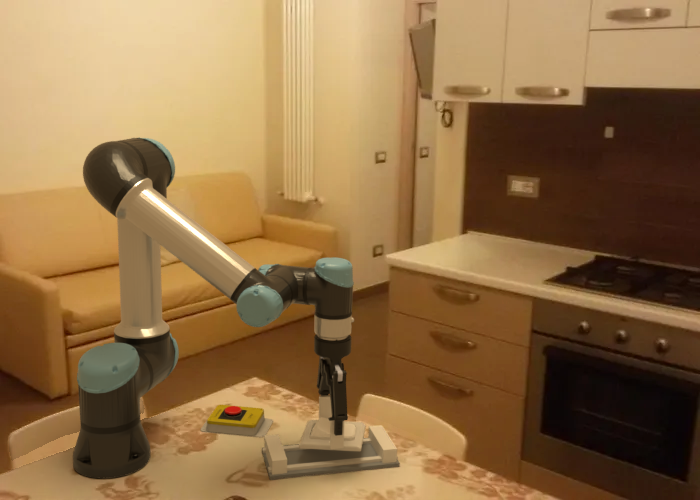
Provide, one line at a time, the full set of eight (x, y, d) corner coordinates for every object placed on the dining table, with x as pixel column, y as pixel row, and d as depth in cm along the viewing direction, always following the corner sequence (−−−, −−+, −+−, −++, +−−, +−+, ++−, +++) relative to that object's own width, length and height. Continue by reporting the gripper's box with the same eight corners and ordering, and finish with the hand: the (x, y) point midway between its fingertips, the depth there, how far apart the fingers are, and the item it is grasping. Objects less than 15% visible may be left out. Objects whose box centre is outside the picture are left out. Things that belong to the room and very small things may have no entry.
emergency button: (212, 398, 175) (274, 404, 173) (212, 415, 176) (274, 421, 174) (198, 415, 166) (264, 421, 164) (199, 433, 167) (264, 440, 165)
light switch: (306, 409, 161) (365, 411, 160) (307, 426, 162) (365, 429, 161) (298, 433, 151) (360, 436, 149) (298, 451, 152) (360, 454, 150)
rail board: (269, 479, 147) (270, 462, 146) (261, 450, 159) (261, 434, 158) (399, 466, 154) (400, 449, 153) (382, 439, 165) (383, 423, 165)
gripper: (365, 352, 141) (362, 460, 145) (337, 316, 162) (335, 411, 167) (327, 355, 139) (324, 464, 144) (304, 318, 160) (302, 413, 165)
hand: (330, 435), depth 155 cm, fingers closed on light switch, 10 cm apart
